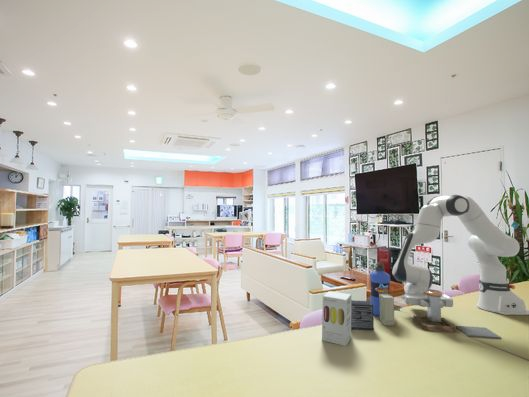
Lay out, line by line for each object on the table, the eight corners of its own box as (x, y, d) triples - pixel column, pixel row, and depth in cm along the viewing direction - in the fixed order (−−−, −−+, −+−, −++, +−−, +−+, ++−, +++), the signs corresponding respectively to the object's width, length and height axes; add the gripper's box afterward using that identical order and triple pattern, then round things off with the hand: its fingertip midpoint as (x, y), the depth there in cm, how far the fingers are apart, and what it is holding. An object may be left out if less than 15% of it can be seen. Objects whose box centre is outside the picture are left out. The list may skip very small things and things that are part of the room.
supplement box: (321, 340, 111) (321, 295, 112) (327, 332, 119) (328, 290, 120) (346, 346, 107) (346, 299, 108) (351, 337, 115) (351, 293, 116)
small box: (370, 324, 128) (370, 300, 129) (374, 330, 122) (374, 305, 122) (345, 323, 129) (345, 299, 130) (348, 329, 123) (348, 303, 123)
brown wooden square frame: (442, 321, 134) (442, 317, 134) (457, 332, 121) (457, 328, 121) (412, 319, 136) (412, 315, 136) (423, 330, 123) (423, 325, 123)
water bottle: (393, 317, 138) (393, 264, 139) (373, 317, 138) (373, 263, 139) (385, 311, 147) (385, 260, 148) (367, 310, 147) (367, 260, 148)
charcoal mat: (485, 329, 126) (485, 327, 126) (501, 338, 116) (501, 337, 116) (455, 326, 127) (455, 325, 127) (468, 336, 118) (468, 335, 118)
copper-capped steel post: (438, 317, 132) (438, 290, 132) (445, 323, 125) (444, 294, 126) (423, 317, 132) (423, 289, 133) (429, 322, 126) (428, 293, 127)
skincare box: (394, 326, 127) (394, 297, 128) (384, 325, 127) (384, 297, 128) (388, 320, 134) (388, 293, 134) (379, 320, 134) (379, 293, 134)
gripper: (399, 289, 144) (409, 297, 130) (444, 291, 141) (459, 299, 127) (399, 302, 143) (409, 311, 130) (444, 304, 140) (459, 314, 127)
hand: (434, 305), depth 128 cm, fingers closed on copper-capped steel post, 4 cm apart
